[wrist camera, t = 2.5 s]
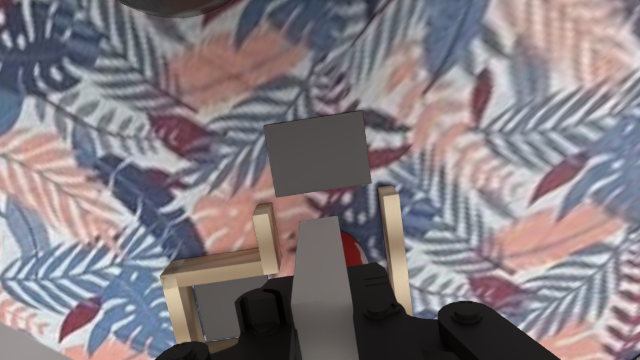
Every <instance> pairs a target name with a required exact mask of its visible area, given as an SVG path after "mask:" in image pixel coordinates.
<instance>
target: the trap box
mask: <svg viewBox="0 0 640 360" xmlns="http://www.w3.org/2000/svg"><path fill="white" fill-rule="evenodd" d="M378 193H379V201H380V209H381V217H382V225H383V233H384V241H385V249H386V257H387V265H388V273H389V281H390V283H391V286H392V289H393V291H394V294H395V297H396V299H397V302H398V303H400V304H401V305H402V306H403V307H404V308H405V310H406V313H407V314H408V315H410V316H413V315H412V306H411V297H410V289H409V280H408V271H407V262H406V254H405V245H404V236H403V227H402V219H401V210H400V201H399V194H398V193H397V191H396V190H395V189H394V187H393V186H392V185H390V186H383V187H378ZM253 221H254V226H255V231H256V236H257V241H258V246H259V248H257V249H250V250H243V251H236V252H229V253H222V254H215V255H209V256H202V257H195V258H188V259H181V260H174V261H171V263H170V264H169V265H168V266H167V268H166V269H165V270H164V271H163V273H162V274H161V275H160V278H161V282H162V286H163V290H164V294H165V298H166V302H167V306H168V310H169V314H170V318H171V322H172V326H173V330H174V334H175V338H176V342H177V344H181V343H182V342H191V341H198V342H203V343H205V340H204V336H203V331H202V327H201V323H200V319H199V314H198V310H197V306H196V302H195V297H194V293H193V289H192V285H199V284H206V283H213V282H219V281H226V280H233V279H240V278H247V277H254V276H261V275H268V274H275V273H279V269H280V264H281V259H282V258H281V252H280V247H279V241H278V236H277V230H276V225H275V219H274V214H273V208H272V203H269V204H262V205H257V207H256V210H255V212H254V214H253ZM238 339H239V338H234V339H227V340H220V341H213V342H206V343H205V344H206V345H208V347H209V352H210V354H212V353H215V352H218V351H221V350H224V349H226V348H229V347H231V346H233V345H235V344H237V343H238Z"/></svg>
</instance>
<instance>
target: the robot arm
mask: <svg viewBox="0 0 640 360" xmlns="http://www.w3.org/2000/svg"><path fill="white" fill-rule="evenodd" d="M116 1H118V2H120V3H122V4H124V5H126V6H129V7H131V8H133V9H136V10H138V11H141V12H144V13H147V14H150V15H154V16H159V17H166V18H186V17H193V16H198V15H201V14H205V13H208V12H210V11H213V10H215V9H217V8H219V7H221V6H223V5H224V4H226V3H227V2H229V1H230V0H116ZM234 304H235V309H236V313H237V318H238V323H239V328H240V336H239V339H238V343H237V344H235V345H233V346H231V347H229V348H226V349H224V350H221V351H218V352H215V353H212V354H210V352H209V347H208V345H206V344H205V343H203V342H198V341H191V342H182V343H181V344H176V345H174V346H173V347H171V348H169V349H167V350H165V351H164V352H163V353H162V354H160V355H159V356H158V357H157V358H156V359H155V360H561V359H559V358H558V357H557V356H555V355H554V354H553V353H551V352H550V351H548V350H547V349H546V348H544V347H543V346H542V345H540V344H539V343H538V342H536V341H535V340H534V339H532V338H531V337H530V336H528V335H527V334H526V333H524V332H523V331H521V330H520V329H519V328H517V327H516V326H515V325H513V324H512V323H511V322H509V321H508V320H507V319H505V318H504V317H503V316H501V315H500V314H499V313H497V312H496V311H494V310H493V309H492V308H490V307H488V306H486V305H484V304H481V303H477V302H473V301H459V302H453V303H450V304H448V305H445V306H443V307H442V308H441V309H440V310H439V311H438V319H423V318H417V317H413V316H410V315H408V314H407V313H406V310H405V308H404V307H403V306H402V305H401V304H400V303H398V302H397V299H396V297H395V294H394V291H393V289H392V286H391V283H390V281H389V278H388V275H387V273H386V270H385V268H384V267H382V266H381V265H379V264H378V263H376V262H375V263H368V264H361V265H354V266H347V267H346V263H345V257H344V251H343V245H342V239H341V233H340V227H339V222H338V216H333V217H326V218H320V219H313V220H306V221H300V223H299V232H298V241H297V251H296V260H295V270H294V276H287V277H280V278H273V279H269V280H268V281H267V282H266V283H265V284H264V285H263V286H262V287H261V288H256V289H253V290H250V291H248V292H246V293H244V294H242V295H241V296H240V297H238V298H237V300H236V301H235V302H234Z"/></svg>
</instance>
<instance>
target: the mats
mask: <svg viewBox="0 0 640 360" xmlns="http://www.w3.org/2000/svg"><path fill="white" fill-rule="evenodd" d="M263 127H264V132H265V138H266V143H267V149H268V155H269V160H270V166H271V171H272V177H273V183H274V188H275V194H276V197H282V196H289V195H296V194H303V193H309V192H316V191H323V190H330V189H336V188H343V187H350V186H356V185H363V184H370V183H371V175H370V167H369V159H368V151H367V143H366V136H365V128H364V120H363V112H362V111H356V112H349V113H343V114H336V115H329V116H323V117H316V118H310V119H303V120H297V121H290V122H283V123H277V124H270V125H264V126H263ZM267 281H268V276H267V275H261V276H254V277H247V278H240V279H233V280H226V281H219V282H213V283H206V284H199V285H194V288H195V292H196V296H197V301H198V305H199V309H200V314H201V318H202V322H203V327H204V331H205V335H206V339H207V341H212V340H219V339H226V338H233V337H239V336H240V328H239V323H238V318H237V313H236V309H235V304H234V302H235V301H236V300H237V298H238V297H240V296H241V295H242V294H244V293H246V292H248V291H250V290H253V289H256V288H261V287H262V286H263V285H264V284H265V283H266V282H267Z"/></svg>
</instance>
